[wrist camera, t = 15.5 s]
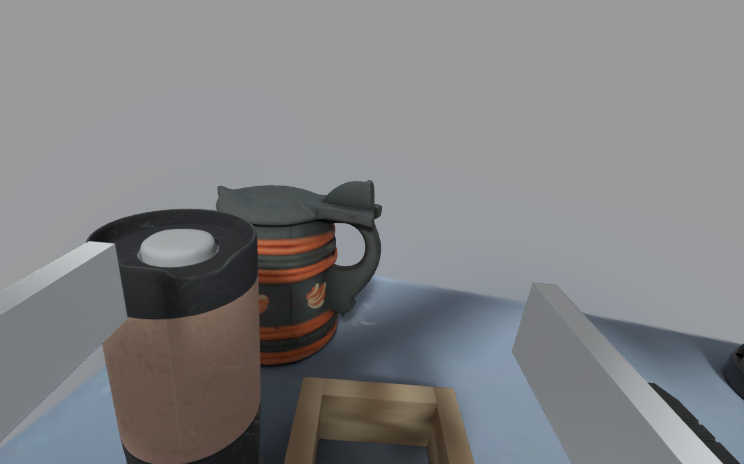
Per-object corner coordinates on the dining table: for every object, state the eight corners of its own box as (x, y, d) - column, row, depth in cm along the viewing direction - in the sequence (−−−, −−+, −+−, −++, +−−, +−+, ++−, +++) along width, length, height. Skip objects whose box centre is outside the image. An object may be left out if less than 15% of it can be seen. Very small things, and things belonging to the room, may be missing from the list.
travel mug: (183, 439, 29) (155, 200, 22) (276, 456, 29) (280, 218, 21) (109, 550, 22) (30, 254, 15) (231, 576, 22) (213, 282, 14)
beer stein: (379, 310, 50) (398, 167, 43) (357, 391, 37) (379, 201, 29) (249, 286, 53) (246, 145, 45) (184, 353, 39) (164, 168, 32)
